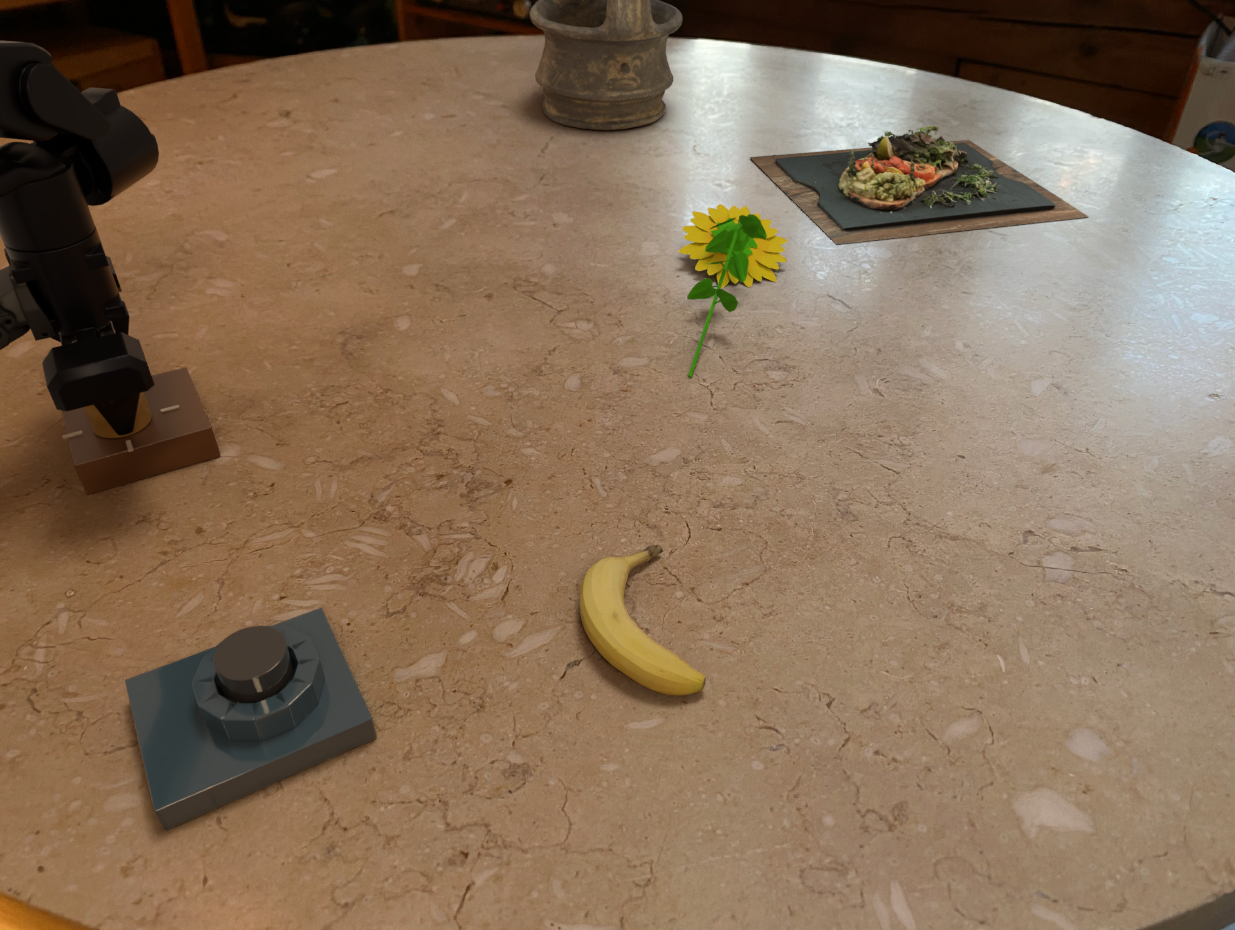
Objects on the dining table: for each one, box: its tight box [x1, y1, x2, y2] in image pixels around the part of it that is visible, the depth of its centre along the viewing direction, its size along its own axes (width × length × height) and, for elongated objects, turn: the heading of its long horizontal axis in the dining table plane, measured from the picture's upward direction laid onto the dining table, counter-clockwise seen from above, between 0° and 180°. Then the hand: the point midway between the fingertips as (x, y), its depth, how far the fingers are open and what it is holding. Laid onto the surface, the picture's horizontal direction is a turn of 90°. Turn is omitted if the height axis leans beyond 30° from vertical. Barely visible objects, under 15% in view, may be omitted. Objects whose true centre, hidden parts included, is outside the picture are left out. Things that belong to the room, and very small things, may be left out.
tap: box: [83, 392, 152, 438], centre depth 73 cm, size 4×4×4 cm
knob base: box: [124, 607, 378, 831], centre depth 56 cm, size 12×10×4 cm
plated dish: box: [749, 125, 1089, 245], centre depth 121 cm, size 35×28×7 cm
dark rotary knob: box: [213, 625, 293, 703], centre depth 54 cm, size 4×4×2 cm
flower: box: [677, 203, 788, 379], centre depth 96 cm, size 12×9×30 cm
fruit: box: [579, 544, 707, 696], centre depth 62 cm, size 7×13×3 cm, turn 14°
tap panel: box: [61, 366, 221, 496], centre depth 76 cm, size 10×10×3 cm
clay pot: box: [529, 0, 683, 131], centre depth 134 cm, size 22×23×30 cm
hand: (121, 416), depth 74 cm, fingers closed on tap, 4 cm apart
